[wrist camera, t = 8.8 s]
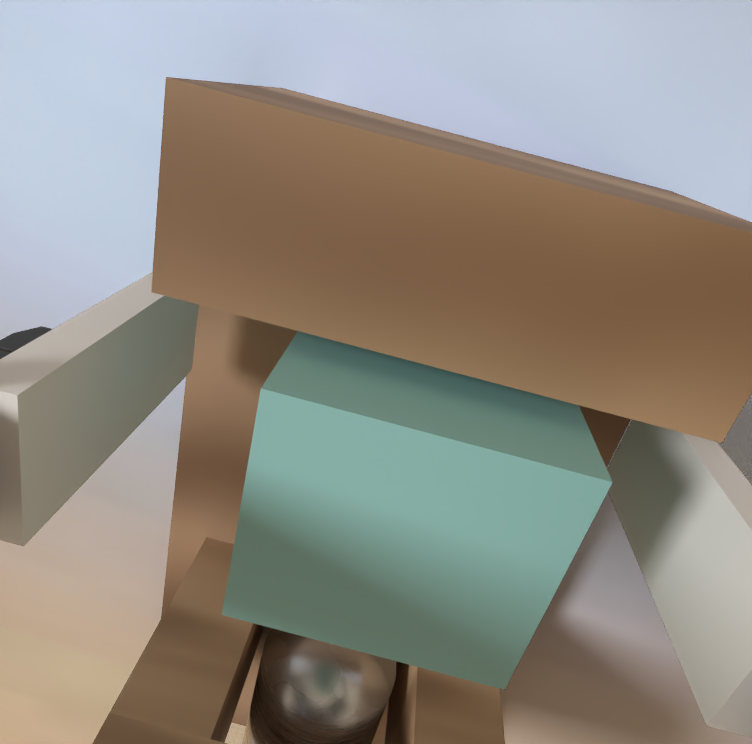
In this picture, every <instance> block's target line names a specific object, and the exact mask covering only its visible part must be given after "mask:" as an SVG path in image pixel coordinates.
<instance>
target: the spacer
mask: <svg viewBox="0 0 752 744" xmlns="http://www.w3.org/2000/svg"><path fill="white" fill-rule="evenodd" d="M612 483H613V482H612V479H611V477H610V475H609V473H608V470H607V468H606V466H605V464H604V461H603V459H602V457H601V455H600V452H599V450H598V448H597V445H596V443H595V441H594V439H593V436H592V434H591V432H590V430H589V427H588V425H587V423H586V421H585V418H584V416H583V414H582V412H581V409H580V407H579V405H576V404H572V403H568V402H564V401H561V400H557V399H553V398H549V397H546V396H542V395H538V394H534V393H530V392H527V391H523V390H519V389H515V388H512V387H508V386H504V385H500V384H496V383H493V382H489V381H485V380H481V379H478V378H474V377H470V376H466V375H462V374H459V373H455V372H451V371H447V370H444V369H440V368H436V367H432V366H428V365H425V364H421V363H417V362H413V361H410V360H406V359H402V358H398V357H394V356H391V355H387V354H383V353H379V352H376V351H372V350H368V349H364V348H360V347H357V346H353V345H349V344H345V343H342V342H338V341H334V340H330V339H326V338H323V337H319V336H315V335H311V334H307V333H304V332H300V331H298V332H297V333H296V335H295V337H294V338H293V340H292V341H291V343H290V344H289V346H288V347H287V349H286V350H285V352H284V353H283V355H282V357H281V358H280V360H279V361H278V363H277V364H276V366H275V367H274V369H273V370H272V372H271V373H270V375H269V377H268V378H267V380H266V381H265V383H264V384H263V386H262V387H261V390H260V396H259V402H258V408H257V413H256V419H255V425H254V431H253V437H252V442H251V448H250V454H249V460H248V466H247V471H246V477H245V483H244V489H243V495H242V500H241V506H240V512H239V518H238V524H237V529H236V535H235V541H234V547H233V553H232V558H231V564H230V570H229V576H228V582H227V587H226V593H225V599H224V605H223V611H222V615H224V616H228V617H232V618H235V619H239V620H243V621H247V622H250V623H254V624H258V625H262V626H266V627H269V628H273V629H277V630H281V631H284V632H288V633H292V634H296V635H299V636H303V637H307V638H311V639H315V640H318V641H322V642H326V643H330V644H333V645H337V646H341V647H345V648H348V649H352V650H356V651H360V652H364V653H367V654H371V655H375V656H379V657H382V658H386V659H390V660H394V661H397V662H401V663H405V664H409V665H413V666H416V667H420V668H424V669H428V670H431V671H435V672H439V673H443V674H446V675H450V676H454V677H458V678H462V679H465V680H469V681H473V682H477V683H480V684H484V685H488V686H492V687H496V688H499V689H503V690H505V688H506V686H507V684H508V682H509V681H510V679H511V677H512V675H513V673H514V671H515V669H516V667H517V665H518V663H519V661H520V659H521V658H522V656H523V654H524V652H525V650H526V648H527V646H528V644H529V642H530V640H531V638H532V636H533V634H534V633H535V631H536V629H537V627H538V625H539V623H540V621H541V619H542V617H543V615H544V613H545V611H546V609H547V608H548V606H549V604H550V602H551V600H552V598H553V596H554V594H555V592H556V590H557V588H558V586H559V585H560V583H561V581H562V579H563V577H564V575H565V573H566V571H567V569H568V567H569V565H570V563H571V561H572V560H573V558H574V556H575V554H576V552H577V550H578V548H579V546H580V544H581V542H582V540H583V538H584V537H585V535H586V533H587V531H588V529H589V527H590V525H591V523H592V521H593V519H594V517H595V515H596V513H597V512H598V510H599V508H600V506H601V504H602V502H603V500H604V498H605V496H606V494H607V492H608V490H609V489H610V487H611V485H612Z"/></svg>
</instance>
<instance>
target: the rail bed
mask: <svg viewBox="0 0 752 744" xmlns="http://www.w3.org/2000/svg"><path fill="white" fill-rule="evenodd" d="M151 292H153V293H156V294H160V295H164V296H168V297H171V298H175V299H179V300H183V301H187V302H190V303H194V304H198V305H199V308H198V317H197V327H196V336H195V345H194V354H193V364H192V370H191V371H190V372H189V373H188V374H187V376H186V385H185V395H184V404H183V414H182V424H181V433H180V443H179V453H178V462H177V472H176V481H175V491H174V501H173V510H172V520H171V530H170V539H169V549H168V559H167V568H166V578H165V587H164V597H163V607H162V616H161V621H160V622H159V624H158V626H157V628H156V630H155V631H154V633H153V635H152V637H151V639H150V640H149V642H148V644H147V646H146V648H145V650H144V651H143V653H142V655H141V657H140V659H139V660H138V662H137V664H136V666H135V668H134V669H133V671H132V673H131V675H130V677H129V679H128V680H127V682H126V684H125V686H124V688H123V689H122V691H121V693H120V695H119V697H118V698H117V700H116V702H115V704H114V706H113V708H112V709H111V711H110V713H109V715H108V717H107V718H106V720H105V722H104V724H103V726H102V727H101V729H100V731H99V733H98V735H97V737H96V738H95V740H94V742H93V744H227V743H224V742H225V739H226V736H227V733H228V730H229V728H230V725H231V722H233V723H237V724H240V725H244V726H246V724H247V719H248V715H249V710H250V706H251V701H252V697H253V692H254V688H255V683H256V679H257V674H258V670H259V665H260V661H261V656H262V652H263V647H264V643H265V639H266V637H267V634H268V632H269V630H270V629H271V628H269V627H266V626H262V625H258V624H254V623H250V622H247V621H243V620H239V619H235V618H232V617H228V616H224V615H222V611H223V605H224V599H225V593H226V587H227V582H228V576H229V570H230V564H231V558H232V553H233V547H234V541H235V535H236V529H237V524H238V518H239V512H240V506H241V500H242V495H243V489H244V483H245V477H246V471H247V466H248V460H249V454H250V448H251V442H252V437H253V431H254V425H255V419H256V413H257V408H258V402H259V396H260V390H261V387H262V386H263V384H264V383H265V381H266V380H267V378H268V377H269V375H270V373H271V372H272V370H273V369H274V367H275V366H276V364H277V363H278V361H279V360H280V358H281V357H282V355H283V353H284V352H285V350H286V349H287V347H288V346H289V344H290V343H291V341H292V340H293V338H294V337H295V335H296V333H297V332H298V331H300V332H304V333H307V334H311V335H315V336H319V337H323V338H326V339H330V340H334V341H338V342H342V343H345V344H349V345H353V346H357V347H360V348H364V349H368V350H372V351H376V352H379V353H383V354H387V355H391V356H394V357H398V358H402V359H406V360H410V361H413V362H417V363H421V364H425V365H428V366H432V367H436V368H440V369H444V370H447V371H451V372H455V373H459V374H462V375H466V376H470V377H474V378H478V379H481V380H485V381H489V382H493V383H496V384H500V385H504V386H508V387H512V388H515V389H519V390H523V391H527V392H530V393H534V394H538V395H542V396H546V397H549V398H553V399H557V400H561V401H564V402H568V403H572V404H576V405H579V407H580V409H581V412H582V414H583V416H584V418H585V421H586V423H587V425H588V427H589V430H590V432H591V434H592V436H593V439H594V441H595V443H596V445H597V448H598V450H599V452H600V455H601V457H602V459H603V461H604V464H605V466H606V467H607V465H608V463H609V461H610V459H611V457H612V455H613V453H614V451H615V449H616V447H617V445H618V443H619V441H620V439H621V437H622V435H623V433H624V431H625V429H626V427H627V425H628V423H629V421H630V419H632V420H636V421H640V422H644V423H648V424H651V425H655V426H659V427H663V428H666V429H670V430H674V431H678V432H682V433H685V434H689V435H693V436H697V437H701V438H704V439H708V440H712V441H716V442H719V443H722V442H723V440H724V438H725V437H726V435H727V433H728V432H729V430H730V428H731V427H732V425H733V423H734V422H735V420H736V418H737V417H738V415H739V413H740V412H741V410H742V408H743V407H744V405H745V403H746V402H747V400H748V398H749V396H750V395H751V393H752V222H749V221H746V220H744V219H741V218H739V217H736V216H733V215H731V214H728V213H726V212H723V211H721V210H718V209H715V208H713V207H710V206H708V205H705V204H703V203H700V202H697V201H695V200H692V199H690V198H687V197H685V196H682V195H679V194H677V193H674V192H672V191H668V190H664V189H660V188H656V187H653V186H649V185H645V184H641V183H638V182H634V181H630V180H626V179H623V178H619V177H615V176H611V175H608V174H604V173H600V172H596V171H592V170H589V169H585V168H581V167H577V166H574V165H570V164H566V163H562V162H559V161H555V160H551V159H547V158H544V157H540V156H536V155H532V154H528V153H525V152H521V151H517V150H513V149H510V148H506V147H502V146H498V145H495V144H491V143H487V142H483V141H479V140H476V139H472V138H468V137H464V136H461V135H457V134H453V133H449V132H446V131H442V130H438V129H434V128H431V127H427V126H423V125H419V124H415V123H412V122H408V121H404V120H400V119H397V118H393V117H389V116H385V115H382V114H378V113H374V112H370V111H367V110H363V109H359V108H355V107H351V106H348V105H344V104H340V103H336V102H333V101H329V100H325V99H321V98H318V97H314V96H310V95H306V94H303V93H299V92H295V91H291V90H287V89H284V88H274V87H264V86H253V85H243V84H232V83H222V82H211V81H201V80H190V79H180V78H169V77H166V86H165V100H164V115H163V129H162V144H161V159H160V173H159V188H158V202H157V217H156V231H155V246H154V260H153V275H152V290H151ZM372 744H505V740H504V730H503V719H502V708H501V697H500V689H499V688H496V687H492V686H488V685H484V684H480V683H477V682H473V681H469V680H465V679H462V678H458V677H454V676H450V675H446V674H443V673H439V672H435V671H431V670H428V669H424V668H420V667H416V666H413V665H409V664H405V663H401V662H397V661H396V678H395V683H394V686H393V689H392V692H391V694H390V697H389V699H388V702H387V705H386V707H385V710H384V712H383V715H382V718H381V720H380V723H379V725H378V728H377V731H376V733H375V736H374V738H373V741H372Z"/></svg>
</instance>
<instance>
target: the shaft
mask: <svg viewBox="0 0 752 744" xmlns="http://www.w3.org/2000/svg"><path fill="white" fill-rule="evenodd" d="M395 678H396V661H394V660H390V659H386V658H382V657H379V656H375V655H371V654H367V653H364V652H360V651H356V650H352V649H348V648H345V647H341V646H337V645H333V644H330V643H326V642H322V641H318V640H315V639H311V638H307V637H303V636H299V635H296V634H292V633H288V632H284V631H281V630H277V629H273V628H271V629H270V630H269V632H268V634H267V637H266V639H265V643H264V647H263V652H262V656H261V661H260V665H259V670H258V674H257V679H256V683H255V688H254V692H253V697H252V701H251V706H250V710H249V715H248V719H247V724H246V728H245V733H244V737H243V742H242V744H372V741H373V738H374V736H375V733H376V731H377V728H378V725H379V723H380V720H381V718H382V715H383V712H384V710H385V707H386V705H387V702H388V699H389V697H390V694H391V692H392V689H393V686H394V683H395Z"/></svg>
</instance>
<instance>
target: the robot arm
mask: <svg viewBox="0 0 752 744" xmlns="http://www.w3.org/2000/svg"><path fill="white" fill-rule="evenodd" d="M152 275H153V272H152V273H150V274H148V275H146V276H145V277H143V278H141V279H139V280H138V281H136V282H134V283H132V284H131V285H129V286H127V287H125V288H124V289H122V290H120V291H118V292H117V293H115V294H113V295H112V296H110V297H108V298H106V299H105V300H103V301H101V302H99V303H98V304H96V305H94V306H92V307H91V308H89V309H87V310H85V311H84V312H82V313H80V314H78V315H77V316H75V317H73V318H71V319H70V320H68V321H66V322H64V323H63V324H61V325H59V326H57V327H56V328H54V329H50V328H46V327H38V328H33V329H29V330H25V331H21V332H17V333H13V334H11V335H9V336H7V337H6V338H4V339H2V340H0V540H2V541H6V542H10V543H13V544H17V545H21V546H24V545H25V544H26V543H27V542H28V541H29V540H30V539H31V538H32V537H33V536H34V535H35V534H36V533H37V532H38V531H39V530H40V529H41V528H42V526H43V525H44V524H45V523H46V522H47V521H48V520H49V519H50V518H51V517H52V516H53V515H54V514H55V513H56V512H57V511H58V510H59V509H60V508H61V507H62V505H63V504H64V503H65V502H66V501H67V500H68V499H69V498H70V497H71V496H72V495H73V494H74V493H75V492H76V491H77V490H78V489H79V488H80V487H81V486H82V485H83V483H84V482H85V481H86V480H87V479H88V478H89V477H90V476H91V475H92V474H93V473H94V472H95V471H96V470H97V469H98V468H99V467H100V466H101V465H102V464H103V463H104V461H105V460H106V459H107V458H108V457H109V456H110V455H111V454H112V453H113V452H114V451H115V450H116V449H117V448H118V447H119V446H120V445H121V444H122V443H123V442H124V441H125V439H126V438H127V437H128V436H129V435H130V434H131V433H132V432H133V431H134V430H135V429H136V428H137V427H138V426H139V425H140V424H141V423H142V422H143V421H144V420H145V418H146V417H147V416H148V415H149V414H150V413H151V412H152V411H153V410H154V409H155V408H156V407H157V406H158V405H159V404H160V403H161V402H162V401H163V400H164V399H165V398H166V396H167V395H168V394H169V393H170V392H171V391H172V390H173V389H174V388H175V387H176V386H177V385H178V384H179V383H180V382H181V381H182V380H183V379H184V378H185V377H186V376H187V374H188V373H189V372H190V371H191V370H192V364H193V354H194V345H195V336H196V327H197V317H198V308H199V305H198V304H194V303H190V302H187V301H183V300H179V299H175V298H171V297H168V296H164V295H160V294H156V293H153V292H151V290H152ZM607 470H608V473H609V475H610V477H611V479H612V482H613V483H612V485H611V487H610V489H609V490H608V492H609V495H610V497H611V499H612V502H613V504H614V507H615V509H616V511H617V514H618V516H619V518H620V521H621V523H622V526H623V528H624V530H625V533H626V535H627V538H628V540H629V542H630V545H631V547H632V550H633V552H634V554H635V557H636V559H637V561H638V564H639V566H640V569H641V571H642V573H643V576H644V578H645V581H646V583H647V585H648V588H649V590H650V592H651V595H652V597H653V600H654V602H655V604H656V607H657V609H658V612H659V614H660V616H661V619H662V621H663V623H664V626H665V628H666V631H667V633H668V635H669V638H670V640H671V643H672V645H673V647H674V650H675V652H676V654H677V657H678V659H679V662H680V664H681V666H682V669H683V671H684V674H685V676H686V678H687V681H688V683H689V685H690V688H691V690H692V693H693V695H694V697H695V700H696V702H697V705H698V707H699V709H700V712H701V714H702V716H703V719H704V721H705V724H706V726H708V727H711V728H715V729H719V730H723V731H727V732H730V733H734V734H738V735H742V736H746V737H749V738H752V485H751V484H750V482H749V481H748V480H747V479H746V477H745V476H744V475H743V474H742V472H741V471H740V470H739V469H738V467H737V466H736V465H735V464H734V462H733V461H732V460H731V459H730V457H729V456H728V455H727V454H726V452H725V451H724V450H723V449H722V447H721V446H720V445H719V444H718V442H716V441H712V440H708V439H704V438H701V437H697V436H693V435H689V434H685V433H682V432H678V431H674V430H670V429H666V428H663V427H659V426H655V425H651V424H648V423H644V422H640V421H636V420H632V422H631V424H630V426H629V428H628V430H627V432H626V434H625V436H624V438H623V440H622V442H621V444H620V446H619V448H618V449H617V451H616V453H615V455H614V457H613V459H612V461H611V463H610V465H609V467H608V469H607Z"/></svg>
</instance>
